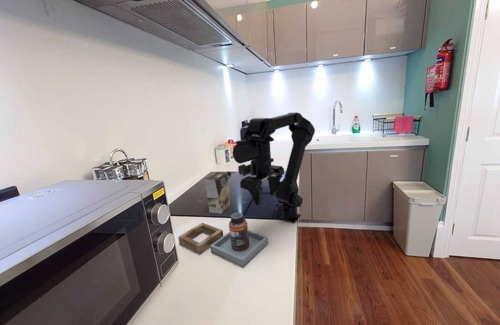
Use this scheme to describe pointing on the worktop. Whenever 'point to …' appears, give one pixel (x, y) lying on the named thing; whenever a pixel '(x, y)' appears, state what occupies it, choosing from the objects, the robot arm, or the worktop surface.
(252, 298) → the worktop surface
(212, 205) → the coffee box
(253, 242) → the grey tray
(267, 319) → the worktop surface
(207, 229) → the walnut holder
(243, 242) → the supplement bottle
